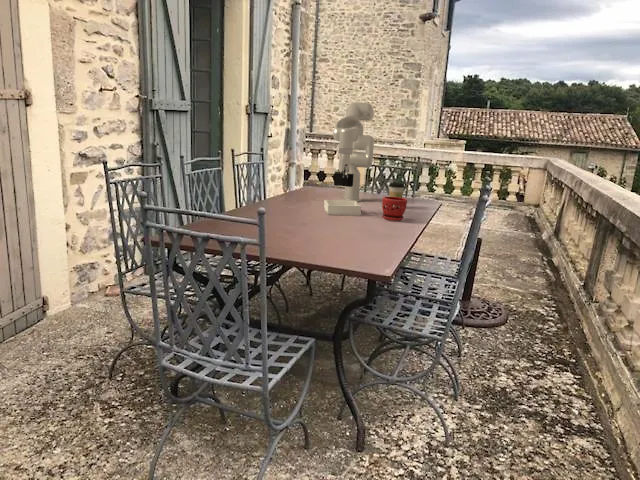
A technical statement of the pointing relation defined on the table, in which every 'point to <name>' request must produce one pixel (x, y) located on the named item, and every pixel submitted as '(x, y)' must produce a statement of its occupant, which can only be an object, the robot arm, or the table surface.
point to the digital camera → (339, 179)
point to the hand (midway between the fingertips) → (343, 183)
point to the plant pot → (393, 208)
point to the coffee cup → (396, 190)
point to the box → (342, 207)
